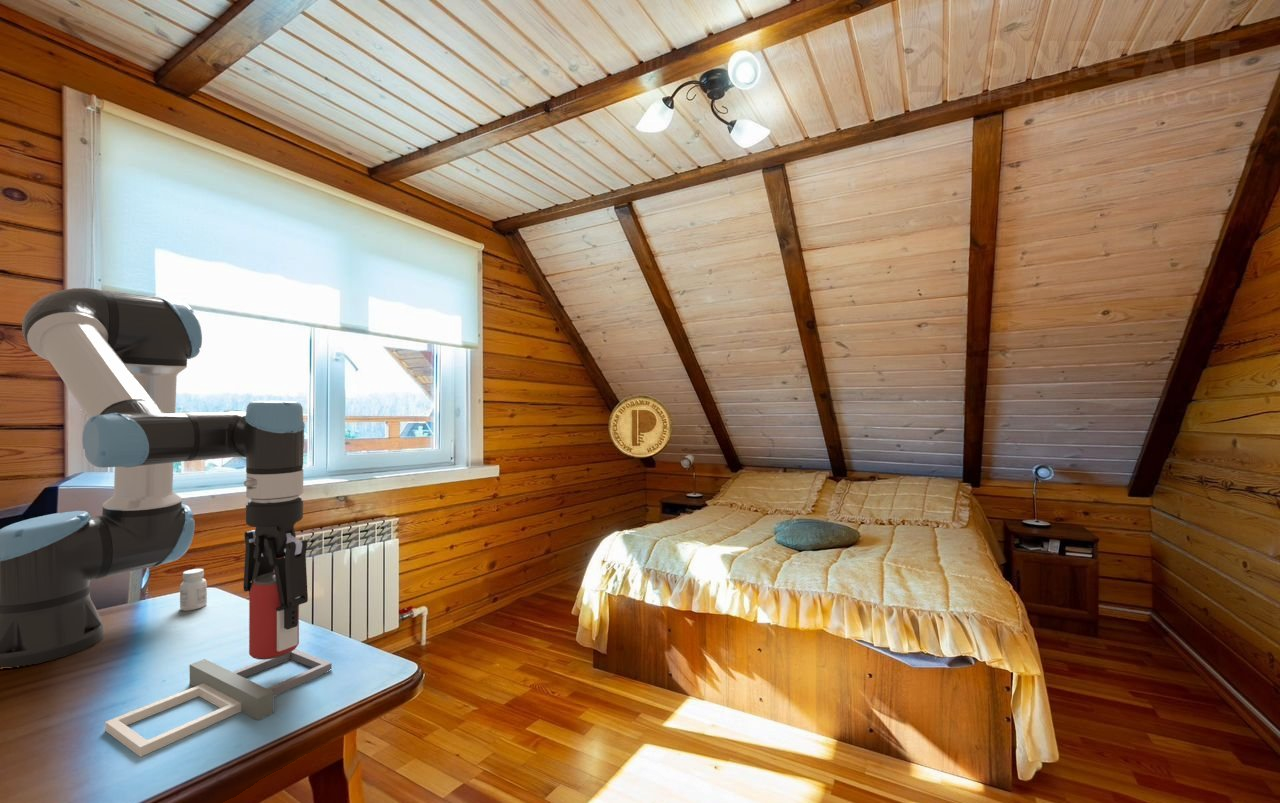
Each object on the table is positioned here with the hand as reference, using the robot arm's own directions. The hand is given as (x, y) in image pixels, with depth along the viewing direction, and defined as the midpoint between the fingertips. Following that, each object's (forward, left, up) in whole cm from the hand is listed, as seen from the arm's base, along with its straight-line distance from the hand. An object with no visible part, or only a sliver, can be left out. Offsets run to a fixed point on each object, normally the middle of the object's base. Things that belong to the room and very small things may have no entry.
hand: (274, 641), depth 85 cm
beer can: (0, 0, -2) cm, 2 cm away
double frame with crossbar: (+1, -6, -6) cm, 9 cm away
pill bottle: (-46, +8, -6) cm, 47 cm away
